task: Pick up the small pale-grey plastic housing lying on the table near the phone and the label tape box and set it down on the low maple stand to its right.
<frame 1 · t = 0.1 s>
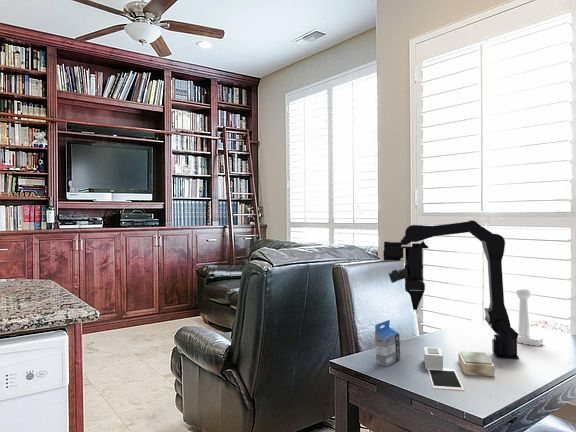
hand: (414, 307, 146), 15 cm above the table, tool pointing down, fingers open, 9 cm apart
housing: (433, 366, 131), on the table
cell phone: (444, 380, 120), on the table
stand: (475, 368, 128), on the table
label tape box: (388, 362, 134), on the table
joystick: (525, 342, 155), on the table
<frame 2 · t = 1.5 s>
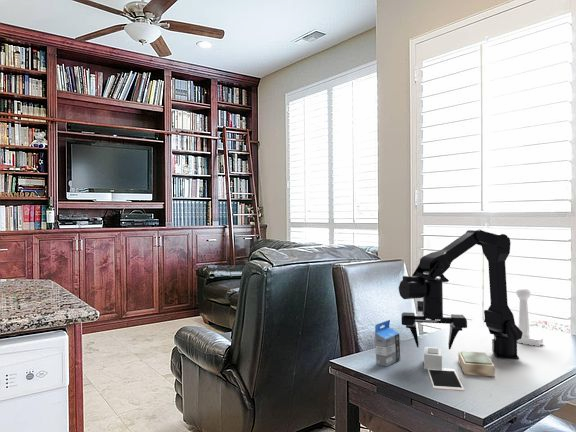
hand: (433, 348, 131), 5 cm above the table, tool pointing down, fingers open, 9 cm apart
nothing on the table moved.
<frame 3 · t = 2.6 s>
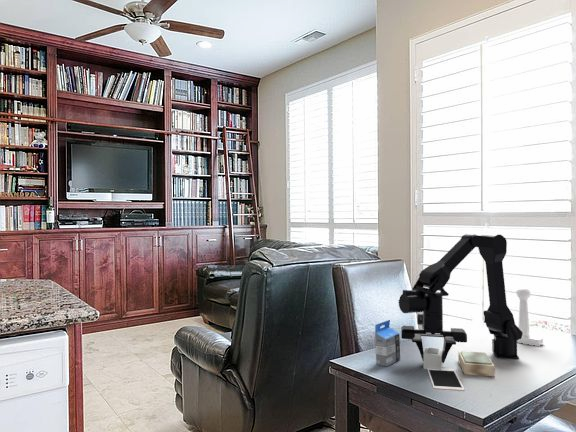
hand: (433, 361, 131), 1 cm above the table, tool pointing down, fingers closed on housing, 5 cm apart
housing: (433, 365, 131), on the table, touching gripper
everything else where it was.
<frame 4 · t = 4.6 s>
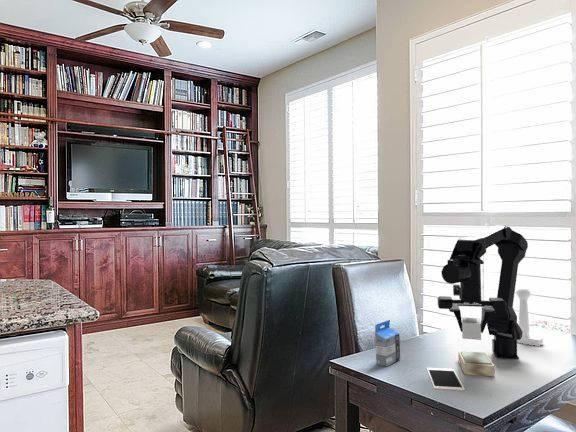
hand: (471, 332, 128), 11 cm above the table, tool pointing down, fingers closed on housing, 5 cm apart
housing: (471, 335, 128), point 10 cm above the table, touching gripper
everything else where it was.
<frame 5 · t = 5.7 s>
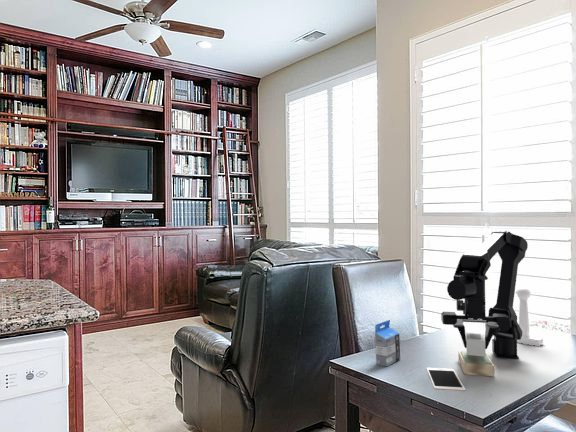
hand: (475, 348, 128), 6 cm above the table, tool pointing down, fingers closed on housing, 5 cm apart
housing: (475, 351, 128), point 5 cm above the table, touching gripper
everything else where it was.
when the fingers open (6 cm above the table, at t = 6.4 s): housing drops 2 cm, resting on stand.
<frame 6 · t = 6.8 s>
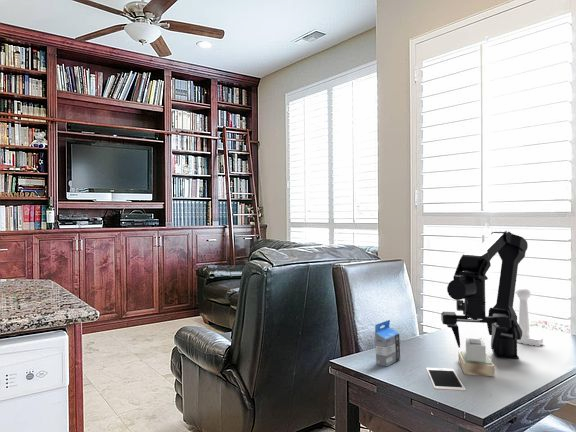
hand: (475, 348, 128), 6 cm above the table, tool pointing down, fingers open, 9 cm apart
housing: (475, 356, 128), point 3 cm above the table, touching stand
everything else where it was.
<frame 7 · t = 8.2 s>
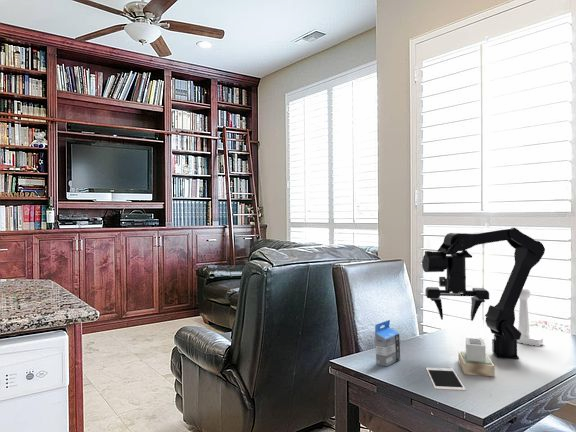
hand: (456, 319, 138), 12 cm above the table, tool pointing down, fingers open, 9 cm apart
nothing on the table moved.
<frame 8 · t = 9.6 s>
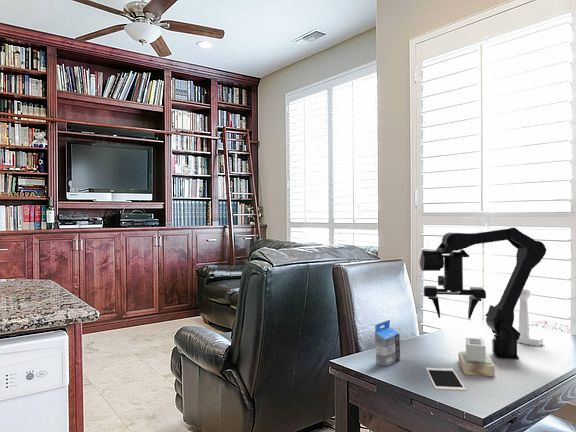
hand: (454, 318, 140), 12 cm above the table, tool pointing down, fingers open, 9 cm apart
nothing on the table moved.
at the end: housing inside the target area on the stand (0.1 cm from its centre), point 3.4 cm above the stand's base; housing tilted 0°; the gripper is holding nothing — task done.
